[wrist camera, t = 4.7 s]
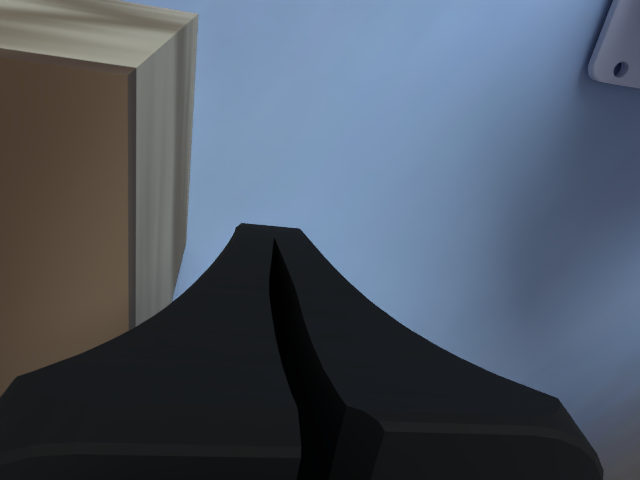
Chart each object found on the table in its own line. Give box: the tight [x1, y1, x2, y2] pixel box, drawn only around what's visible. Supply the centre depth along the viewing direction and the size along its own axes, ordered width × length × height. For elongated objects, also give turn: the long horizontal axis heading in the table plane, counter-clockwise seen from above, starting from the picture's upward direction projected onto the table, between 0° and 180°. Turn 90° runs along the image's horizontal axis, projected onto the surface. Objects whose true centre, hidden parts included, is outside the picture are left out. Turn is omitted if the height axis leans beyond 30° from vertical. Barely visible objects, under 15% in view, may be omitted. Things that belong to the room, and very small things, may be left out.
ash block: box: [0, 0, 198, 397], centre depth 13 cm, size 5×8×10 cm, turn 171°
